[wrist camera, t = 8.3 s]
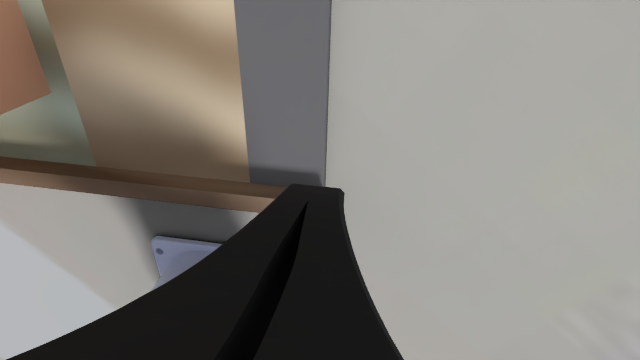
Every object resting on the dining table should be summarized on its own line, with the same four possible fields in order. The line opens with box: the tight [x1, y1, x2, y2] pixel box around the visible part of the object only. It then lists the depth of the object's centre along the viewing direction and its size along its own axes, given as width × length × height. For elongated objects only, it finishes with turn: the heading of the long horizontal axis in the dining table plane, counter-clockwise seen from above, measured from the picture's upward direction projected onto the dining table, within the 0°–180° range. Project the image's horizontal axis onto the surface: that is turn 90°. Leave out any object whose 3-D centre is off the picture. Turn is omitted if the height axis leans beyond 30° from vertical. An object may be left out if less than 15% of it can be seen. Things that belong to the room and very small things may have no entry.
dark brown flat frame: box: [0, 0, 287, 213], centre depth 17 cm, size 17×27×2 cm, turn 89°
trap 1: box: [234, 0, 332, 187], centre depth 16 cm, size 15×4×1 cm, turn 179°
